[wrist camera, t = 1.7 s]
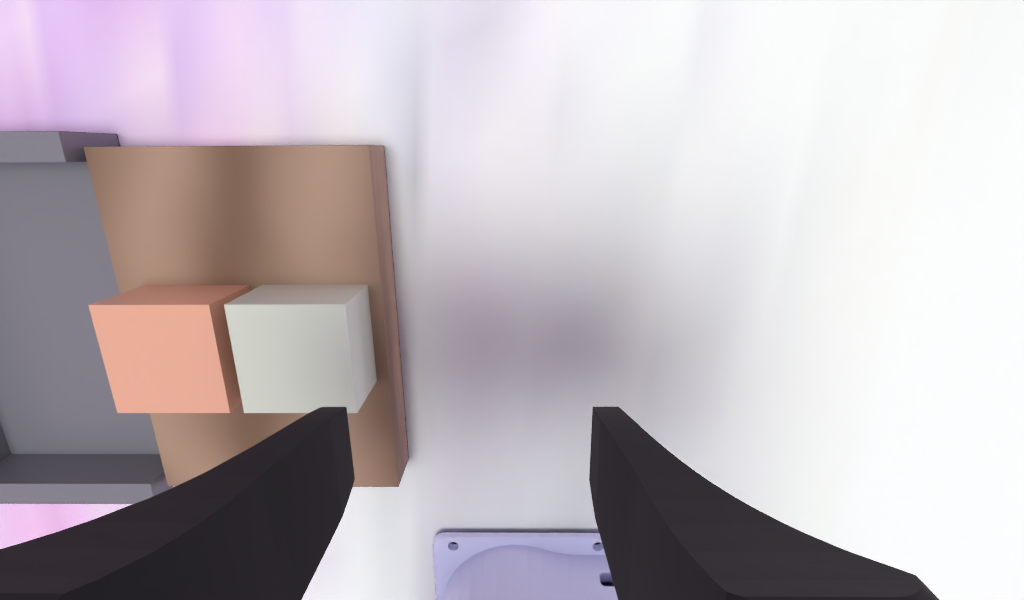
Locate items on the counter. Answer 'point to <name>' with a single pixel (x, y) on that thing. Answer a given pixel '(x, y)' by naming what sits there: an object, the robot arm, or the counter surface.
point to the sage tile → (302, 347)
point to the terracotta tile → (169, 348)
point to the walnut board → (260, 267)
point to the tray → (60, 336)
